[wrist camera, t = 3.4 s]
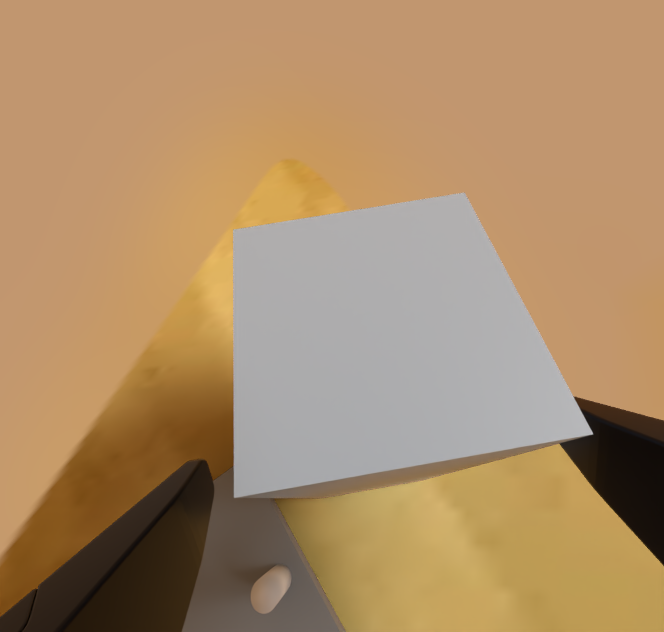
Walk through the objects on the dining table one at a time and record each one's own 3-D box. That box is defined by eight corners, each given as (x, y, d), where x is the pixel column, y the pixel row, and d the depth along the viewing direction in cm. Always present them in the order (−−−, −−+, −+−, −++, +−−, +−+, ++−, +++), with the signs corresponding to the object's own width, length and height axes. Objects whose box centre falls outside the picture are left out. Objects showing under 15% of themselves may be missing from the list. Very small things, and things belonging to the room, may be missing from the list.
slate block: (423, 480, 16) (593, 434, 4) (322, 498, 16) (233, 498, 4) (397, 382, 18) (464, 192, 7) (309, 397, 18) (233, 229, 7)
